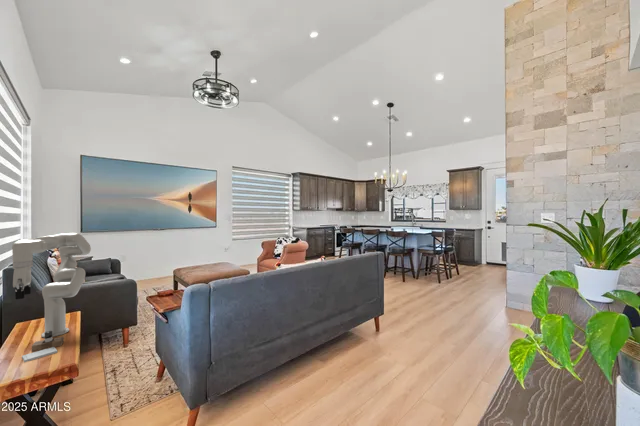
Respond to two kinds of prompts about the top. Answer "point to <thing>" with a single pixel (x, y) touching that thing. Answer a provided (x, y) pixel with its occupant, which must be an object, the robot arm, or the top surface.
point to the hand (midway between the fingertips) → (23, 296)
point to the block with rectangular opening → (47, 344)
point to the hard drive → (39, 354)
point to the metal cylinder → (48, 336)
